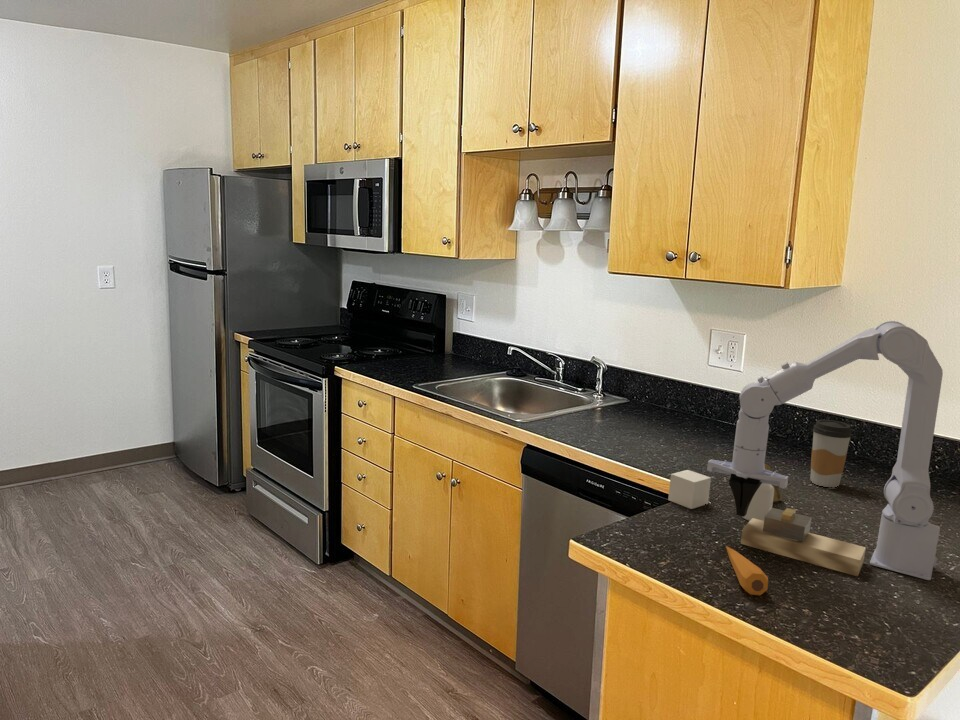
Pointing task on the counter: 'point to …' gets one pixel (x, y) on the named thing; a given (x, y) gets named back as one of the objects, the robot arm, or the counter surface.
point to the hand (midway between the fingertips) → (741, 514)
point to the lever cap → (787, 524)
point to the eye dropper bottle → (760, 502)
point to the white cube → (689, 489)
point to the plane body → (807, 548)
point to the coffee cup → (829, 452)
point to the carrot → (748, 573)
